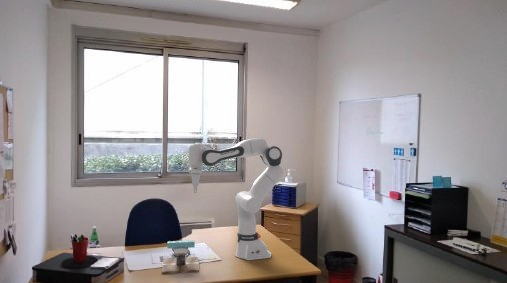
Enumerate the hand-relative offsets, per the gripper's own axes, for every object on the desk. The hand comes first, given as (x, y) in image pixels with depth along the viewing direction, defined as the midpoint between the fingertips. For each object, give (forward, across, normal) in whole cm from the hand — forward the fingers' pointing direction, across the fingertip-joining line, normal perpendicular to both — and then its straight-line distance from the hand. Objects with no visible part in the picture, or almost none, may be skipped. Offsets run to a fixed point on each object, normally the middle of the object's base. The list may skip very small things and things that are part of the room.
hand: (195, 191), depth 230 cm
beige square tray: (+39, +21, -8) cm, 45 cm away
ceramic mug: (+39, +1, -8) cm, 40 cm away
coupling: (+32, +21, -8) cm, 39 cm away
